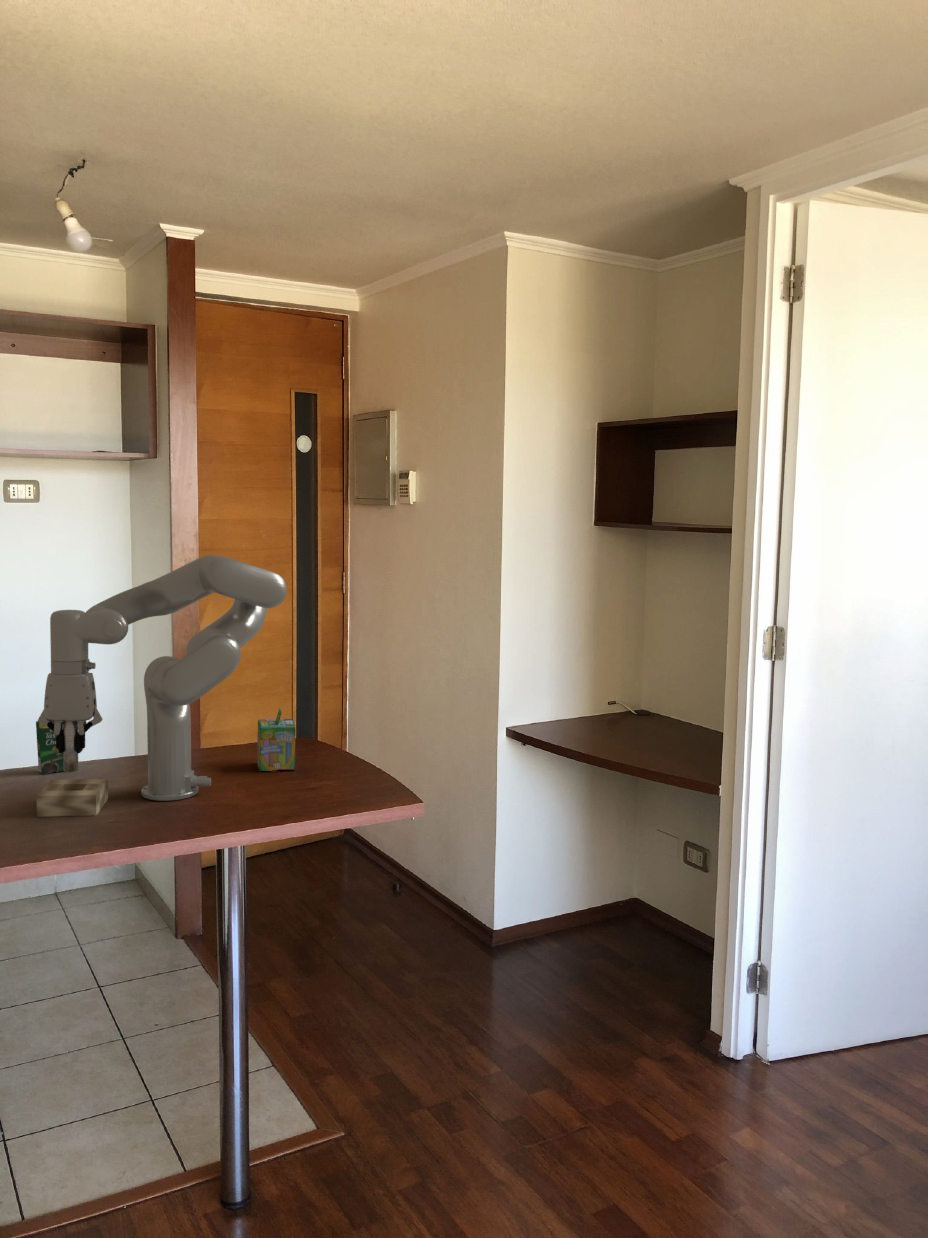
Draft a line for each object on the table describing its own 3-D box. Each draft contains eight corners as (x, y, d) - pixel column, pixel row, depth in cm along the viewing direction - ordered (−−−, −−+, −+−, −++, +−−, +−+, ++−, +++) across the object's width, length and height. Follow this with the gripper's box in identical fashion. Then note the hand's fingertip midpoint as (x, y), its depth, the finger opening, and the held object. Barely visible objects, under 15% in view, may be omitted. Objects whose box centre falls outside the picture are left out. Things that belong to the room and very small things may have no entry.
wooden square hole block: (108, 798, 223) (107, 779, 223) (96, 815, 212) (95, 795, 211) (52, 799, 222) (51, 780, 221) (37, 816, 210) (36, 796, 209)
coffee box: (40, 775, 240) (38, 722, 238) (37, 772, 242) (35, 720, 241) (74, 770, 245) (73, 718, 243) (71, 768, 247) (70, 716, 245)
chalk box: (257, 763, 255) (256, 706, 254) (293, 761, 258) (293, 705, 256) (258, 773, 246) (258, 714, 245) (295, 771, 249) (296, 713, 247)
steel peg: (79, 768, 217) (79, 714, 216) (76, 771, 214) (76, 717, 213) (65, 768, 217) (64, 714, 215) (62, 771, 214) (61, 717, 212)
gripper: (113, 665, 218) (113, 747, 220) (34, 664, 215) (36, 747, 217) (105, 671, 210) (106, 756, 212) (24, 670, 208) (25, 756, 210)
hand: (70, 751), depth 215 cm, fingers closed on steel peg, 3 cm apart
